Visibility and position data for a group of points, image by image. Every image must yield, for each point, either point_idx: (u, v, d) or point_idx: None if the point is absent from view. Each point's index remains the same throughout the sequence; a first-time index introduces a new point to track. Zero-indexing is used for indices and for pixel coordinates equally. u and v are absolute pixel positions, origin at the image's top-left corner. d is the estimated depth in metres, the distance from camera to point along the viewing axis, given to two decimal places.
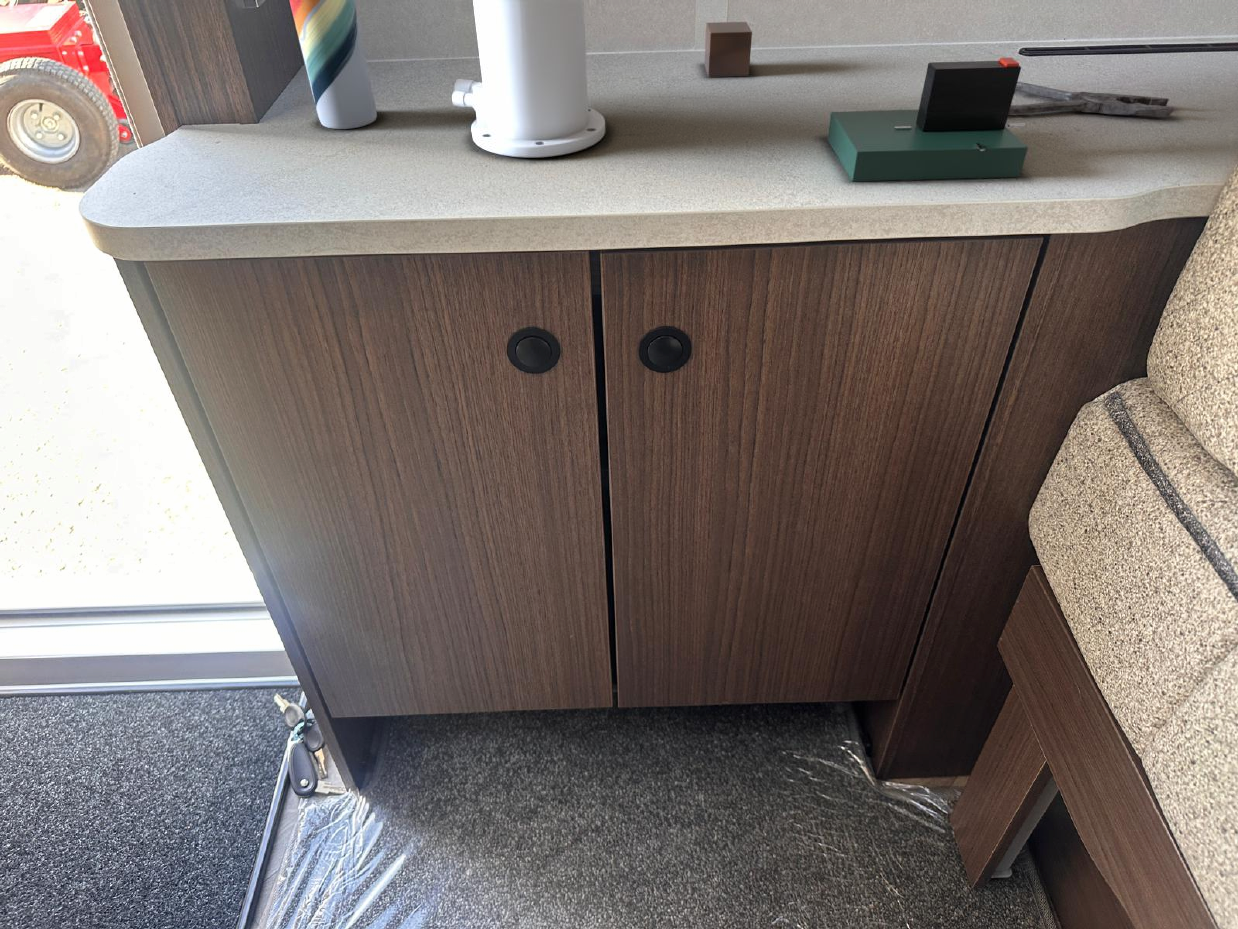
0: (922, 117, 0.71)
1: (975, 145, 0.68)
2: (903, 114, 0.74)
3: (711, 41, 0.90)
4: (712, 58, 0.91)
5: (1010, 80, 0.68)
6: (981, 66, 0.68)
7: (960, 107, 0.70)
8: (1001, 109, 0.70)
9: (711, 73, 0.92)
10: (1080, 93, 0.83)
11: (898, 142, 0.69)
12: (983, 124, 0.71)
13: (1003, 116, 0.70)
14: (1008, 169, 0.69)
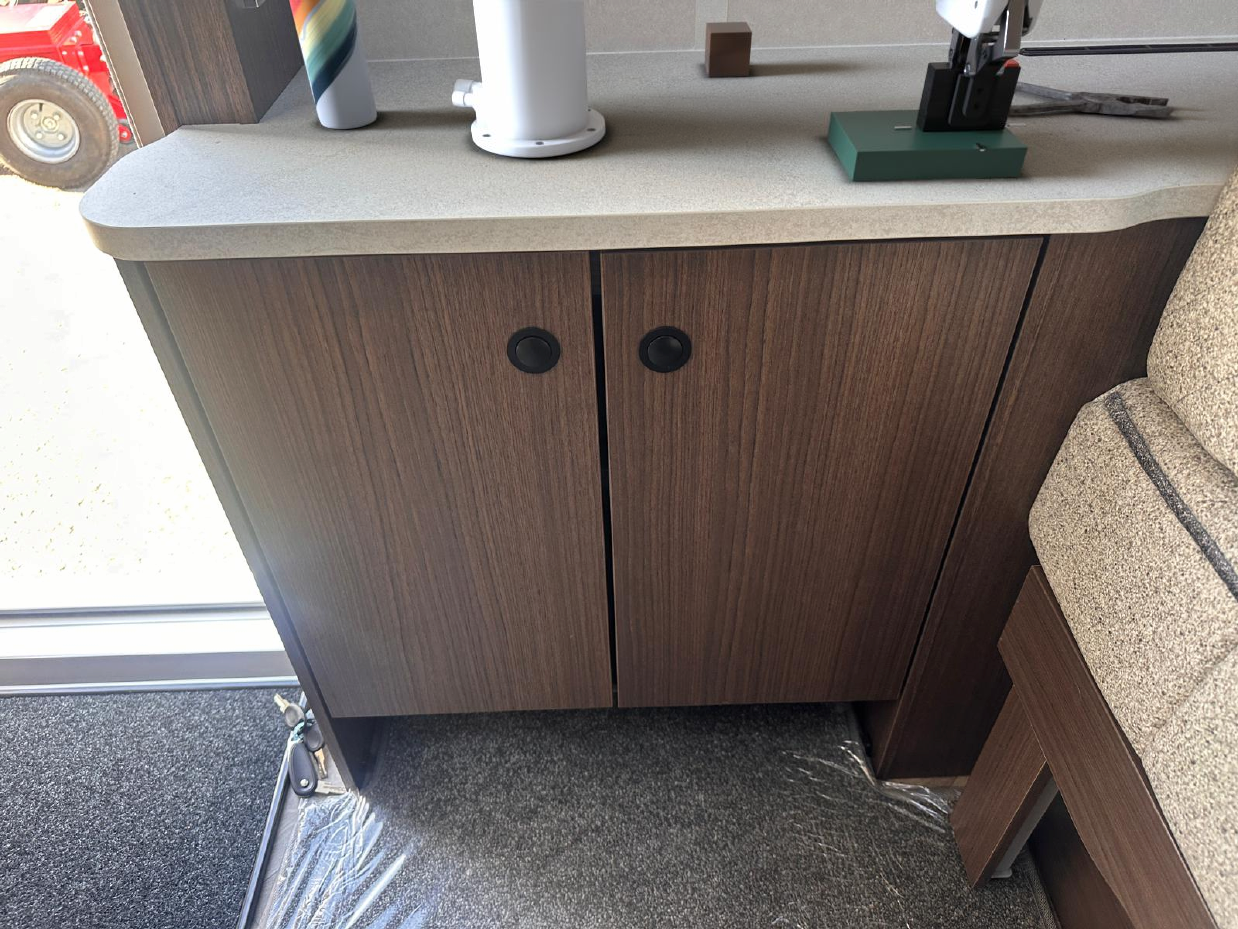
0: (922, 117, 0.71)
1: (975, 145, 0.68)
2: (903, 114, 0.74)
3: (711, 41, 0.90)
4: (712, 58, 0.91)
5: (1010, 80, 0.68)
6: None
7: None
8: (1001, 109, 0.70)
9: (711, 73, 0.92)
10: (1080, 93, 0.83)
11: (898, 142, 0.69)
12: None
13: (1003, 116, 0.70)
14: (1008, 169, 0.69)
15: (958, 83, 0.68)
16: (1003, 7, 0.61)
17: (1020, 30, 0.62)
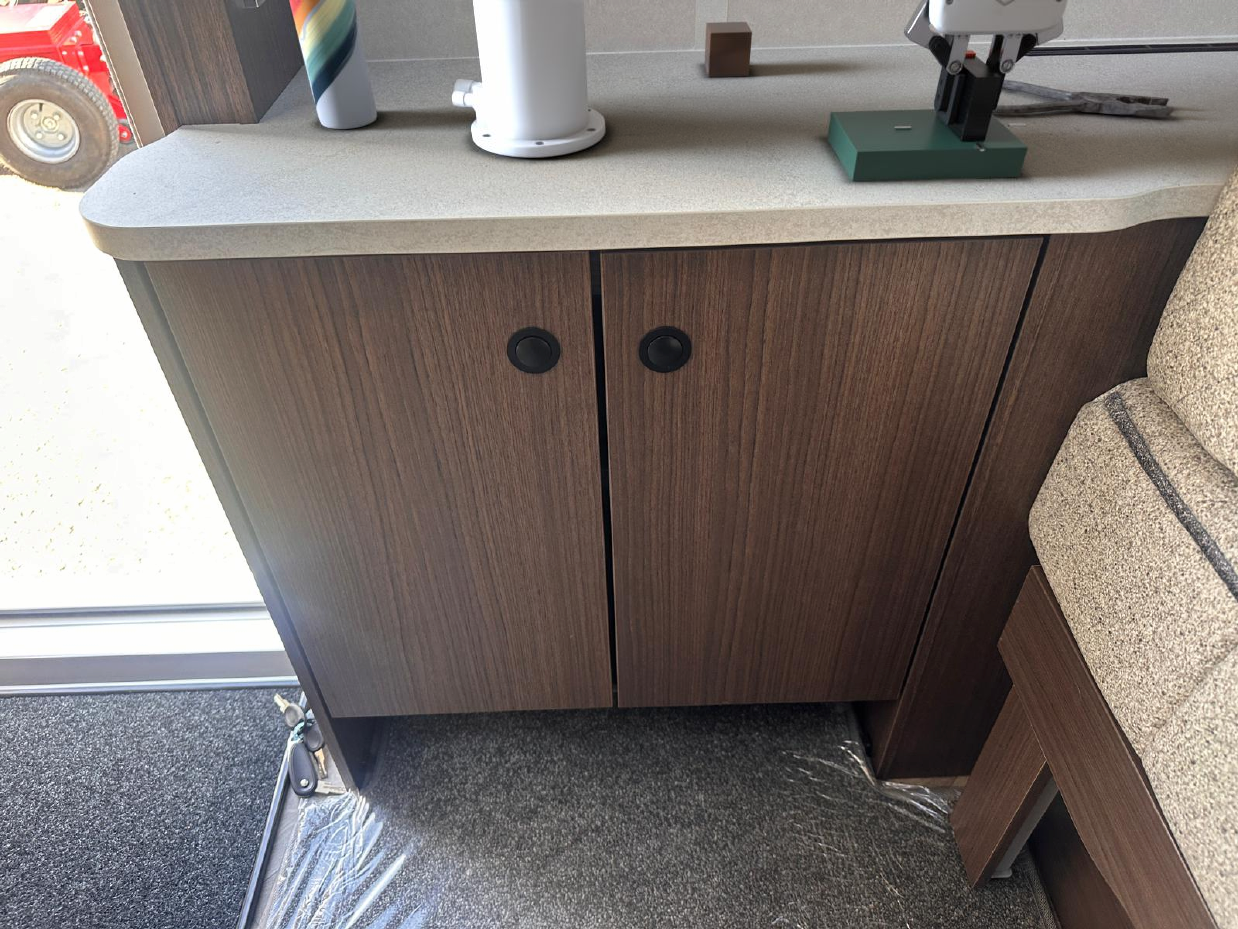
0: (979, 129, 0.68)
1: (975, 145, 0.68)
2: (903, 114, 0.74)
3: (711, 41, 0.90)
4: (712, 58, 0.91)
5: None
6: (979, 63, 0.69)
7: None
8: None
9: (711, 73, 0.92)
10: (1080, 93, 0.83)
11: (898, 142, 0.69)
12: None
13: None
14: (1008, 169, 0.69)
15: None
16: None
17: None
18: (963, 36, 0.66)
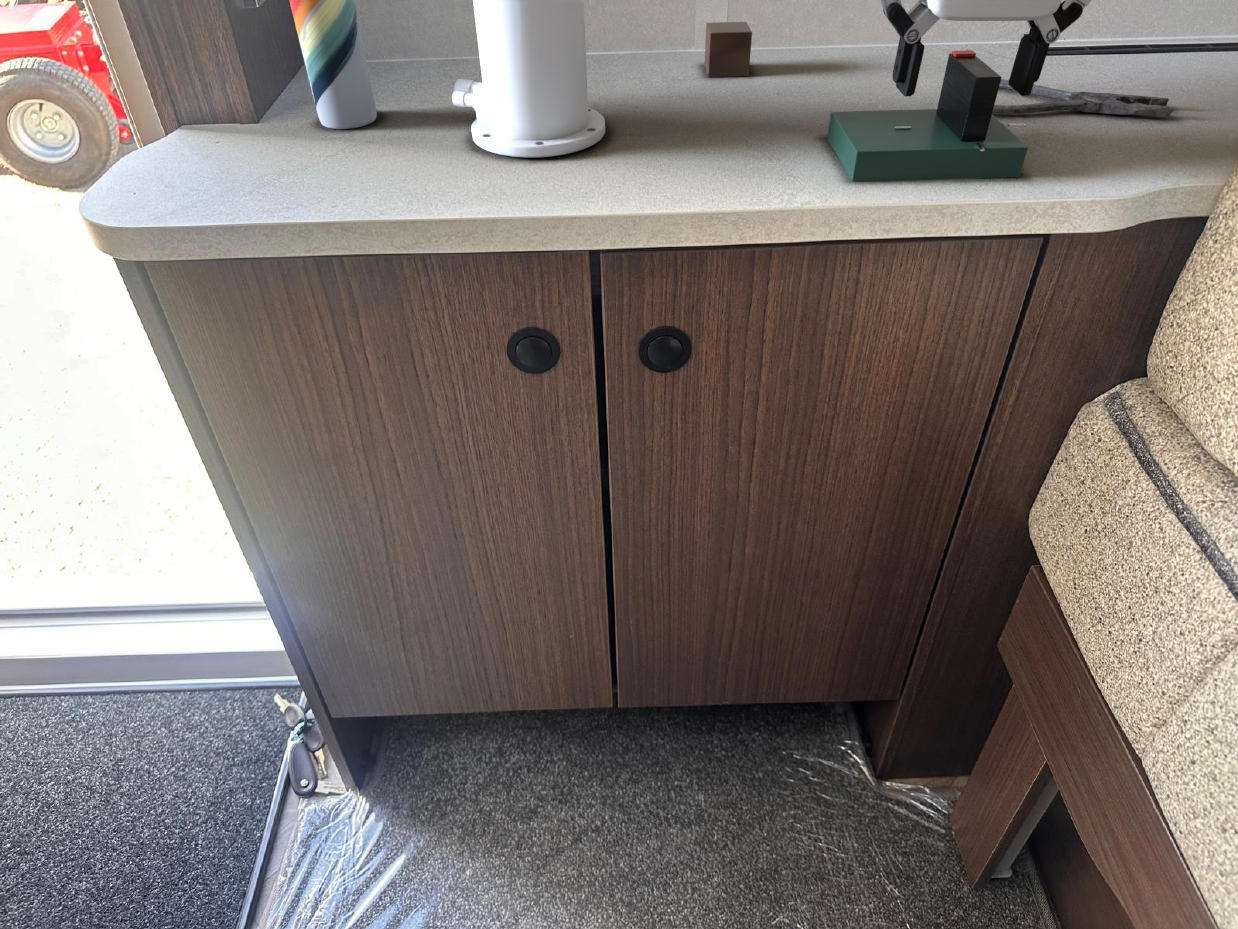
0: (979, 129, 0.68)
1: (975, 145, 0.68)
2: (903, 114, 0.74)
3: (711, 41, 0.90)
4: (712, 58, 0.91)
5: None
6: (979, 63, 0.69)
7: None
8: None
9: (711, 73, 0.92)
10: (1080, 93, 0.83)
11: (898, 142, 0.69)
12: None
13: None
14: (1008, 169, 0.69)
15: (1041, 53, 0.67)
16: None
17: None
18: None
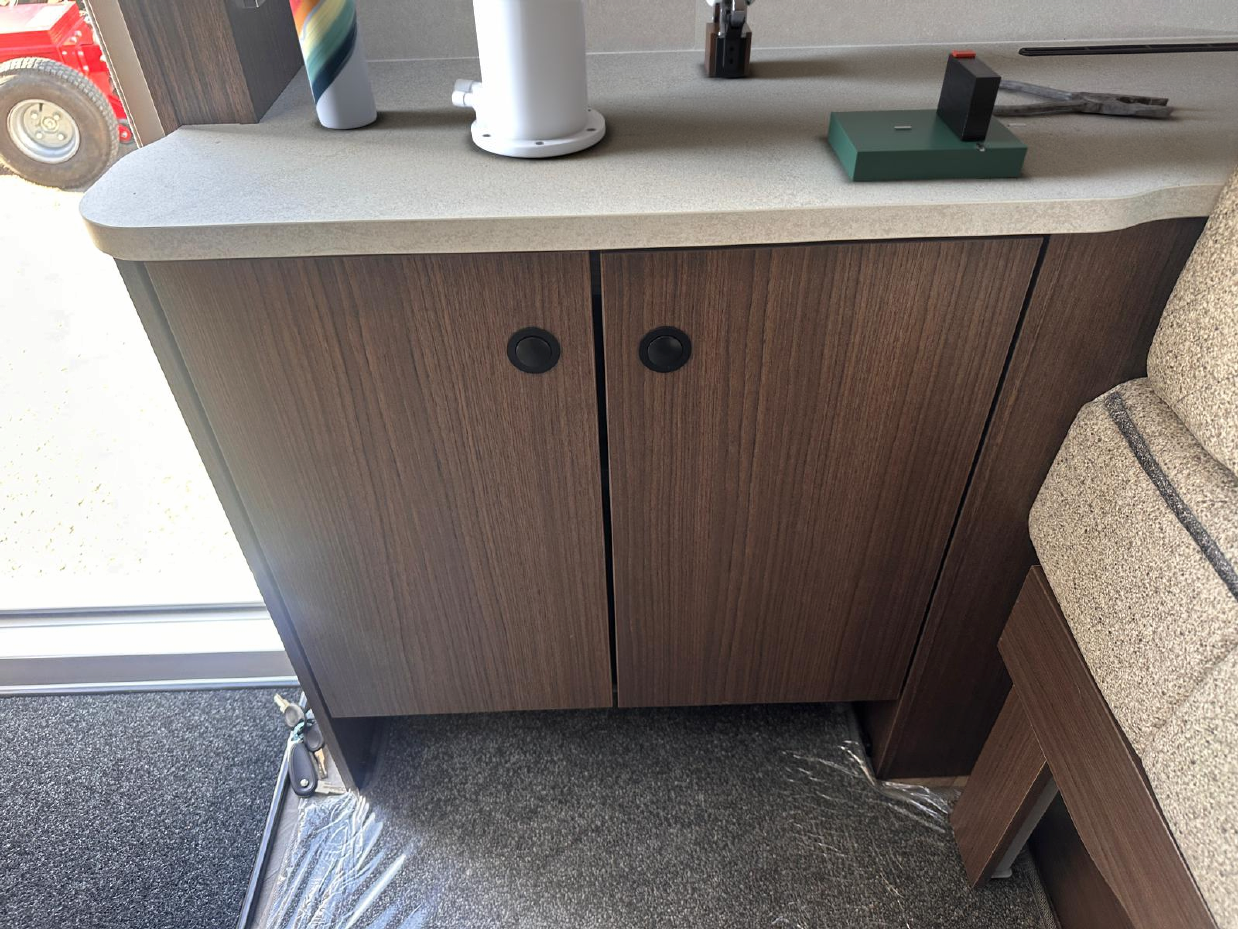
0: (979, 129, 0.68)
1: (975, 145, 0.68)
2: (903, 114, 0.74)
3: (711, 41, 0.90)
4: (712, 58, 0.91)
5: None
6: (979, 63, 0.69)
7: None
8: None
9: (711, 73, 0.92)
10: (1080, 93, 0.83)
11: (898, 142, 0.69)
12: None
13: None
14: (1008, 169, 0.69)
15: (716, 43, 0.90)
16: None
17: None
18: None
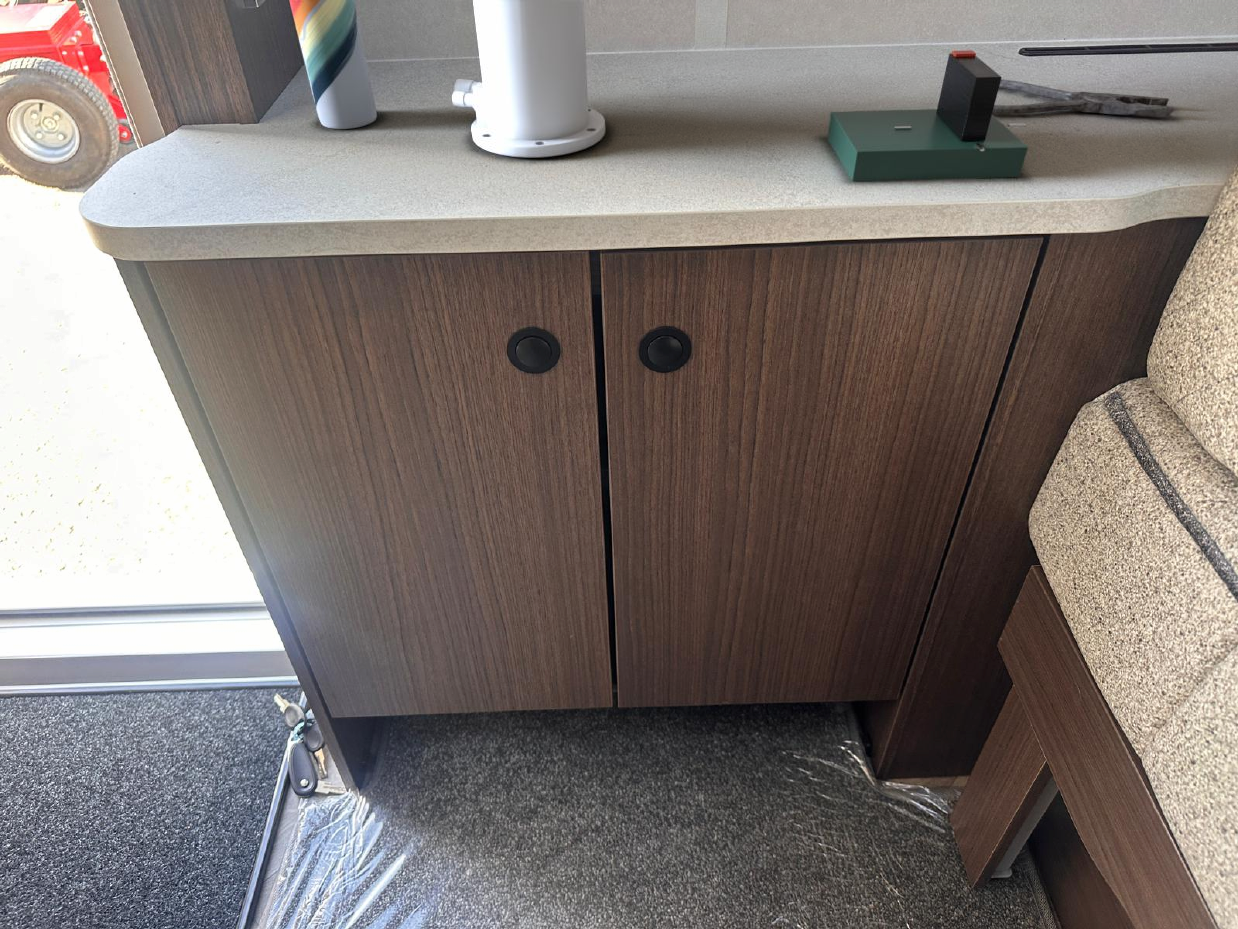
0: (979, 129, 0.68)
1: (975, 145, 0.68)
2: (903, 114, 0.74)
3: None
4: None
5: None
6: (979, 63, 0.69)
7: None
8: None
9: None
10: (1080, 93, 0.83)
11: (898, 142, 0.69)
12: None
13: None
14: (1008, 169, 0.69)
15: None
16: None
17: None
18: None
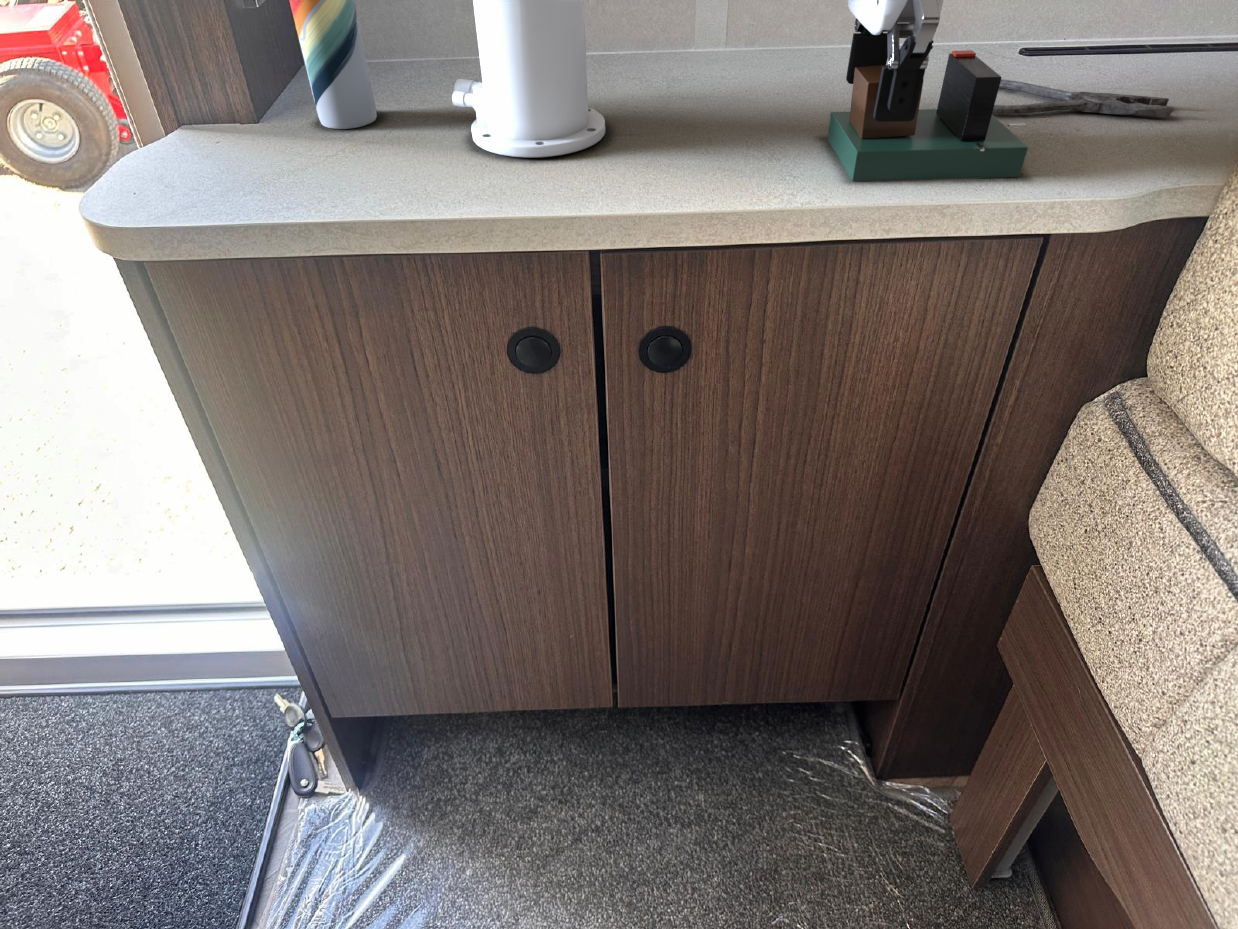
0: (979, 129, 0.68)
1: (975, 145, 0.68)
2: None
3: (868, 94, 0.68)
4: (868, 115, 0.69)
5: None
6: (979, 63, 0.69)
7: None
8: None
9: (865, 134, 0.70)
10: (1080, 93, 0.83)
11: (898, 142, 0.69)
12: None
13: None
14: (1008, 169, 0.69)
15: (882, 76, 0.64)
16: (904, 4, 0.61)
17: (935, 1, 0.59)
18: None
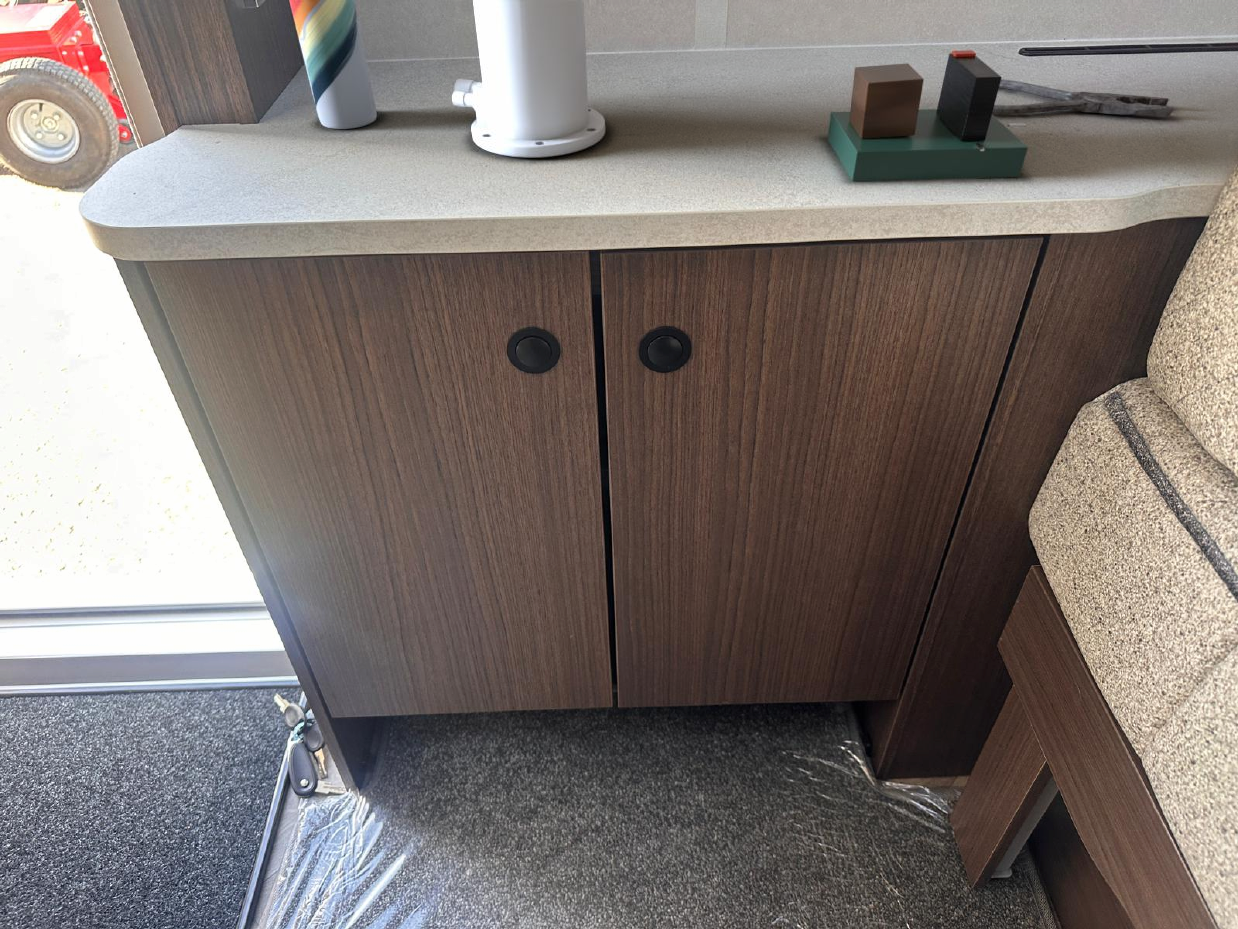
0: (979, 129, 0.68)
1: (975, 145, 0.68)
2: None
3: (868, 94, 0.68)
4: (868, 115, 0.69)
5: None
6: (979, 63, 0.69)
7: None
8: None
9: (865, 134, 0.70)
10: (1080, 93, 0.83)
11: (898, 142, 0.69)
12: None
13: None
14: (1008, 169, 0.69)
15: None
16: None
17: None
18: None
